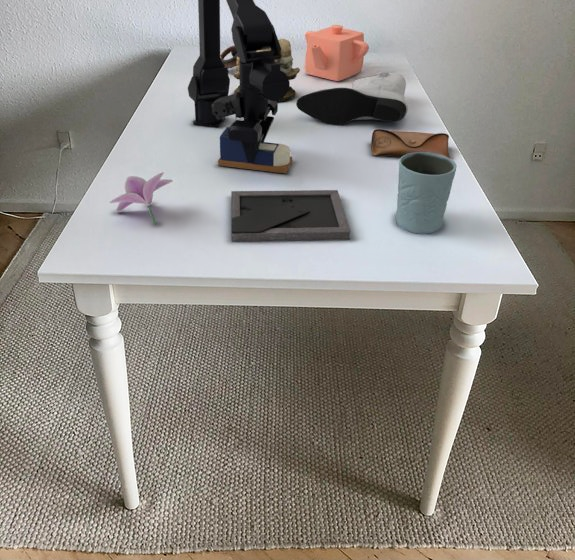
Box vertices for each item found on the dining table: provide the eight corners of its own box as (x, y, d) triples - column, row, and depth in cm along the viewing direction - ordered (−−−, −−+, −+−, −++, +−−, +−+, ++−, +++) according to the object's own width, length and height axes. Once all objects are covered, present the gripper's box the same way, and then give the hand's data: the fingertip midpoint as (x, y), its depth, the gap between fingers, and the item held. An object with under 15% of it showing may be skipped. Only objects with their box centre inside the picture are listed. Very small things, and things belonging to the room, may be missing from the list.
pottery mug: (257, 76, 186) (245, 54, 180) (229, 89, 189) (216, 67, 183) (254, 55, 194) (242, 32, 188) (227, 67, 196) (215, 46, 190)
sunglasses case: (372, 155, 139) (374, 125, 139) (369, 159, 146) (371, 130, 146) (453, 160, 138) (455, 129, 138) (446, 163, 145) (448, 134, 145)
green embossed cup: (409, 239, 111) (419, 179, 104) (380, 213, 119) (388, 155, 112) (456, 229, 115) (468, 169, 108) (425, 204, 122) (435, 147, 115)
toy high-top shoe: (218, 165, 133) (217, 136, 130) (226, 153, 138) (225, 125, 135) (286, 173, 131) (287, 144, 127) (292, 161, 136) (293, 133, 132)
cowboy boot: (410, 100, 148) (414, 71, 168) (298, 80, 150) (314, 53, 170) (401, 138, 153) (406, 104, 173) (293, 118, 156) (310, 87, 176)
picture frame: (231, 241, 109) (349, 239, 111) (231, 231, 108) (350, 229, 109) (231, 198, 122) (337, 197, 124) (231, 189, 121) (337, 188, 122)
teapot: (317, 61, 199) (319, 15, 191) (377, 75, 189) (382, 27, 181) (280, 75, 186) (281, 27, 178) (343, 91, 176) (347, 40, 168)
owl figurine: (298, 89, 177) (300, 26, 167) (299, 103, 167) (302, 37, 157) (234, 87, 176) (233, 24, 166) (233, 102, 166) (231, 36, 156)
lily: (185, 208, 120) (165, 161, 118) (183, 215, 109) (161, 163, 106) (127, 231, 120) (106, 185, 117) (119, 241, 108) (96, 189, 106)
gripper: (228, 67, 134) (230, 136, 143) (200, 96, 119) (204, 170, 128) (278, 72, 132) (277, 141, 141) (257, 101, 117) (257, 177, 126)
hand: (253, 156), depth 134 cm, fingers closed on toy high-top shoe, 5 cm apart
